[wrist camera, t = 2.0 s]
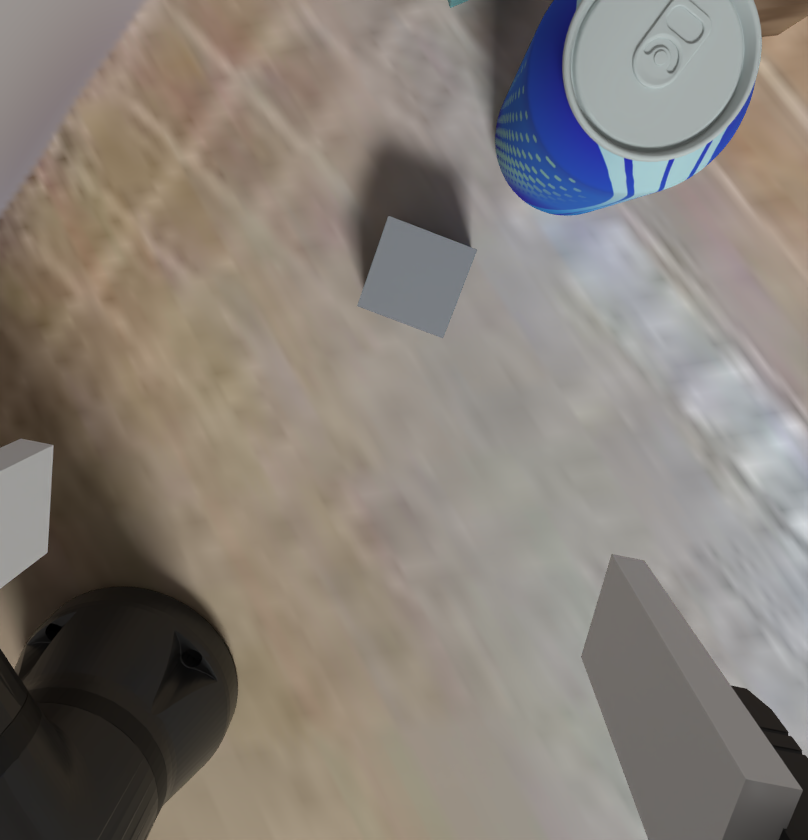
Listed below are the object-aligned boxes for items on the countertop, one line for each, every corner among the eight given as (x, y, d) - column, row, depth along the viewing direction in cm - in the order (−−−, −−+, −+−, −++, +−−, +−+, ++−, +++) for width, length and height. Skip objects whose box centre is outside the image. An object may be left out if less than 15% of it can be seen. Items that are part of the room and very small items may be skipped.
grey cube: (366, 300, 40) (357, 305, 35) (393, 221, 39) (388, 215, 34) (441, 328, 40) (443, 338, 35) (471, 250, 39) (477, 249, 34)
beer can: (651, 195, 38) (805, 151, 22) (510, 233, 39) (562, 216, 23) (626, 40, 36) (774, -125, 20) (478, 84, 37) (512, -43, 21)
